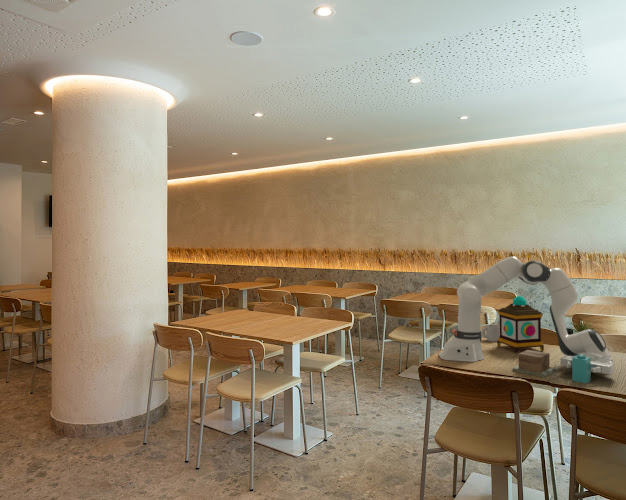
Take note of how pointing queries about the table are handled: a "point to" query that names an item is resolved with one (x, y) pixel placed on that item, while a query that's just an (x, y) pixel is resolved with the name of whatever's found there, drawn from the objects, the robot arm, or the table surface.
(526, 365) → the tower base
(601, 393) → the table surface
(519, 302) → the decorative lantern
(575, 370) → the teal brick
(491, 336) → the cup
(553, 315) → the robot arm
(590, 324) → the house plant
